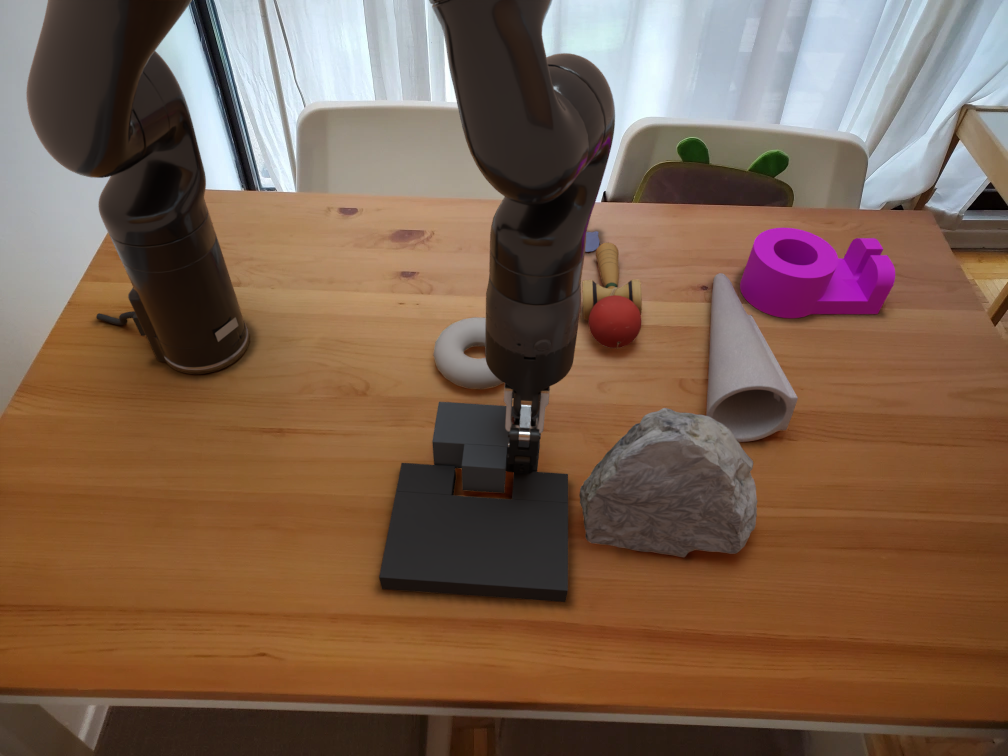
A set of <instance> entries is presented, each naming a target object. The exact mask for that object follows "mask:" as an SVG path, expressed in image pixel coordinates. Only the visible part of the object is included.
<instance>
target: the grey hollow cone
mask: <svg viewBox="0 0 1008 756" xmlns="http://www.w3.org/2000/svg"><path fill="white" fill-rule="evenodd" d="M710 305H711V306H710V307H711V308H710V331H709V350H708V351H709V353H708V370H707V371H708V375H707V391H706V395H707V396H706V413H705V414H706V415H705V416H709V417H711V418H713V419H714V420H715V421H717V422H719V423H722V424H723V425H725V426H726V427H727V428H728V429H730V431H731V432H732V434H733V435H734V437H735V439H736V440H737V441H738V442H739V443H746V442H752V441H758V440H761V439H765V438H766V437H769V436H771V435H773V434H775V433H777V432H779V431H787V430H788V428H789V425H790V422H791V419H792V417H793V414H794V411H795V408H796V405H797V402H798V399H799V397H798V395H797V394H796V391H795V390H794V388H793V386H792V384H791V383H790V381H789V379H788V377H787V375H786V374H785V371H784V370H783V368H782V367H781V364H780V363H779V361H778V360H777V358H776V356H775V354H774V352H773V351H772V349H771V347H770V345H769V344H768V342H767V340H766V338H765V336H764V335H763V333H762V331H761V329H760V328H759V326H758V324H757V321H756V320H755V319H754V317H753V316H752V315H753V314H748V313H747V310H746V309H745V307H744V305H743V303H742V302H741V300H740V297H739V296H738V293H737V292H736V290H735V288H734V286H733V283H732V281H731V279H730V278H729V277H728V276H727V275H726V274H724V273H722V272H719V273H717V274H715V275H714V277H713V281H712V290H711V303H710Z"/></svg>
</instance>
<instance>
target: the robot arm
mask: <svg viewBox="0 0 1008 756" xmlns="http://www.w3.org/2000/svg"><path fill="white" fill-rule="evenodd" d="M192 1H193V0H47V3H46V8H45V13H44V18H43V22H42V26H41V30H40V33H39V37H38V40H37V44H36V48H35V51H34V55H33V58H32V62H31V65H30V69H29V73H28V77H27V84H26V93H25V94H26V104H27V111H28V116H29V119H30V123H31V125H32V127H33V130H34V132H35V134H36V136H37V138H38V140H39V142H40V143H41V145H42V146H43V148H44V149H45V150H46V152H47V153H48V154H49V155H50V156H51V157H52V158H53V160H55V161H56V162H57V163H58V164H59V165H60V166H61V167H63V168H65V169H66V170H68V171H70V172H71V173H75V174H77V175H79V176H81V177H82V176H83V177H87V178H92V179H93V178H94V179H96V178H97V179H104V178H109V179H108V180H107V182H106V184H105V186H104V187H103V189H102V190H101V193H100V195H99V197H98V206H97V207H98V213H99V215H100V217H101V220H102V223H103V225H104V227H105V229H106V232H107V233H108V235H109V237H110V240H111V242H112V244H113V246H114V249H115V250H116V252H117V253H116V254H117V255H118V257H119V259H120V262H121V264H122V266H123V268H124V270H125V273H126V275H127V277H128V279H129V281H130V283H131V286H132V288H131V289H130V290H129V292H128V296H127V298H128V300H129V303H130V305H131V307H132V309H133V311H126V312H123V313H120V315H119V316H118V318H117V317H113V316H110V315H107V314H104V313H97V314H96V320H98V321H102V322H104V323H105V322H106V323H109V324H112V325H115V326H126V325H127V323H128V320H129V319H132V320H133V323H134V325H135V326H136V329H137V331H138V333H139V335H140V336H141V337H146V339H147V342H148V343H149V345H150V347H151V350H152V353H153V355H154V356H155V358H156V361H157V362H161V363H162V362H163V363H166V364H167V365H168V366H169V367H171V368H172V369H173V370H175V371H177V372H180V373H184V374H188V375H204V374H209V373H213V372H218V371H220V370H222V369H225V368H227V367H228V366H231V365H232V364H234V363H235V362H237V361H238V360H239V359H240V358H241V357H242V356H243V355H244V354H245V352H246V350H247V349H248V347H249V345H250V339H251V338H250V337H251V336H250V331H249V329H248V326H247V324H246V321H245V319H244V317H243V313H242V311H241V307H240V304H239V300H238V298H237V295H236V292H235V288H234V286H233V282H232V279H231V276H230V273H229V270H228V267H227V263H226V261H225V257H224V255H223V251H222V248H221V245H220V242H219V239H218V236H217V233H216V230H215V227H214V224H213V221H212V218H211V214H210V212H209V211H210V210H209V208H208V205H207V201H206V199H205V194H206V190H207V189H206V188H207V177H206V171H205V167H204V164H203V160H202V159H203V158H202V155H201V152H200V148H199V143H198V139H197V135H196V132H195V128H194V124H193V120H192V116H191V112H190V110H189V106H188V103H187V100H186V97H185V95H184V92H183V89H182V88H181V86H180V84H179V81H178V79H177V77H176V75H175V74H174V73H173V71H172V70H171V68H170V66H169V65H168V64H167V62H166V60H164V58H163V57H162V56H161V55H160V54H159V53H158V52H157V51H156V50H157V49H158V48H159V46H160V45H161V43H162V42H163V41H164V40H165V38H166V37H167V35H169V33H170V32H171V30H172V29H173V28H174V26H175V25H176V23H177V22H178V21H179V19H180V18H181V17H182V15H183V14H184V13H185V12H186V10H187V8H188V7H189V6H190V4H191V3H192ZM428 1H429V3H430V4H431V9H432V11H433V13H434V14H435V17H436V19H437V20H438V23H439V25H440V26H441V30H442V35H443V37H444V43H445V44H444V45H445V48H446V50H445V51H446V55H447V63H448V69H449V73H450V77H451V82H452V87H453V91H454V95H455V96H454V97H455V100H456V105H457V110H458V114H459V117H460V118H459V119H460V123H461V128H462V131H463V135H464V138H465V142H466V145H467V146H468V150H469V152H470V155H471V157H472V160H473V161H474V163H475V165H476V167H477V169H478V170H479V172H480V173H481V175H482V177H484V178H485V180H486V181H487V182H488V183H489V185H490V186H492V188H493V189H494V190H495V191H497V193H499V194H500V195H502V196H503V199H502V201H501V202H500V204H499V205H498V207H497V209H496V211H495V213H494V214H493V217H492V221H491V225H490V233H489V263H488V264H489V266H488V267H489V268H488V269H489V271H488V273H489V275H488V282H487V286H486V293H485V318H486V323H485V347H484V356H485V357H484V358H486V363H487V365H488V367H489V369H490V371H491V372H492V373H493V374H494V375H495V376H496V377H497V378H498V379H499V380H501V381H502V382H504V383H503V384H504V388H503V389H504V390H503V402H504V404H505V406H506V420H505V429H506V430H507V431H508V437H510V439H509V442H508V448H509V454H507V460H509V462H508V464H510V471H511V472H510V473H512V474H514V473H517V474H529V473H532V472H533V465H535V466H536V461H537V462H538V463H539V460H538V456H537V451H538V444H539V439H540V441H541V438H542V433H543V432H544V428H545V417H546V407H547V406H549V404H550V403H549V402H550V393H551V391H550V390H551V387H552V386H554V385H556V384H558V383H560V382H561V381H562V380H564V379H565V378H566V376H568V374H569V373H570V371H571V369H572V367H573V364H574V359H575V351H576V345H577V338H578V337H577V336H578V329H579V324H580V323H579V322H580V316H581V315H580V314H581V309H582V277H583V268H584V262H585V256H586V255H585V254H586V252H585V247H586V232H588V228H589V223H590V220H591V216H592V214H593V210H594V207H595V204H596V201H597V199H598V195H599V192H600V189H601V186H602V182H603V180H604V179H603V178H604V175H605V173H606V169H607V165H608V162H609V158H610V154H611V153H610V152H611V150H612V146H613V142H614V141H613V140H614V135H615V127H616V106H615V100H614V95H613V92H612V89H611V86H610V84H609V82H608V80H607V78H606V77H605V75H604V74H603V72H602V71H601V69H600V68H599V67H598V66H597V65H596V64H594V62H592V61H591V60H589V59H587V58H585V57H583V56H582V55H577V54H575V53H570V52H563V53H561V52H560V53H555V54H551V55H549V56H547V53H546V49H545V43H544V39H543V27H544V24H545V19H546V17H547V15H548V13H549V11H550V8H551V6H552V4H553V0H428ZM512 406H513V412H514V414H515V415H516V416H518V417H520V418H515V417H513V416H512ZM538 411H539V415H538V417H537V418H536V419H531V418H533V417H535V416H536V415H537V413H538Z"/></svg>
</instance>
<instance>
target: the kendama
mask: <svg viewBox="0 0 1008 756" xmlns="http://www.w3.org/2000/svg"><path fill="white" fill-rule="evenodd" d="M595 259H596V261H597V265H598V266H597V267H598V271H599V275H600V280H601V283H602V285H603V286H601V285H599V284H598V283H596V282H595V281H594V280H593V279H585V280H582V281H581V293H582V311H583V313H582V314H583V320H584V321H588V328H589V332H590V334H591V336H592V338H593V339H594V340H595V341H596V342H597V343H598V344H599V345H601V346H603V347H606V348H609V349H616V350H618V349H621V348H624V347H627V346H628V345H631V343H633V342H634V341H635V340H636V339H637V337H638V336H639V333H640V331H641V329H642V320H643V319H642V314H643V302H642V301H643V297H642V295H643V294H642V284H641V279H633V278H632V279H631V280H629V281H628V282H627V283H626V284H623V285H622V286H619V279H620V277H619V276H620V273H619V272H620V271H619V269H620V268H619V248H618V247H617V245H616V244H614V243H612V242H604V243H601V244H599V247H598V248H597V249H596V250H595Z"/></svg>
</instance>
